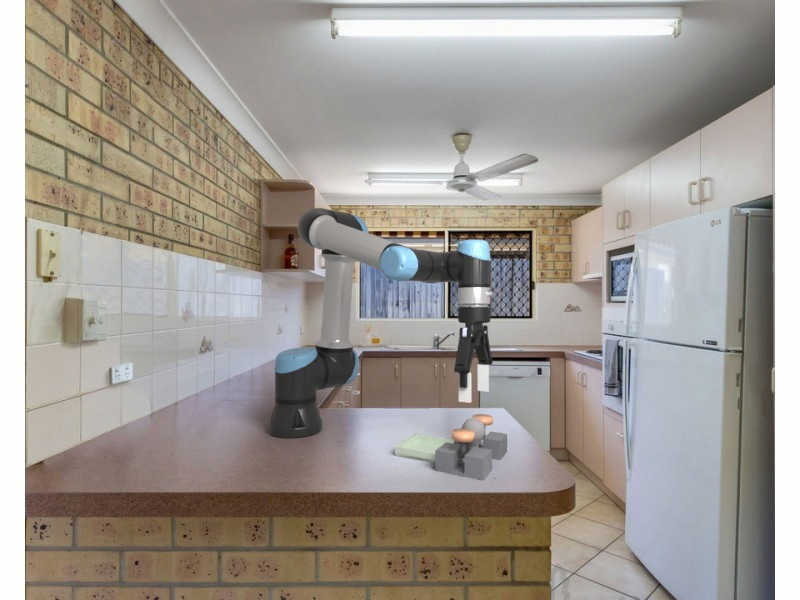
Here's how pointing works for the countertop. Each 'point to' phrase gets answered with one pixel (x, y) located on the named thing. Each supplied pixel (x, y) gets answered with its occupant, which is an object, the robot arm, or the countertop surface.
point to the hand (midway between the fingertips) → (474, 396)
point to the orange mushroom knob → (484, 419)
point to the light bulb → (477, 428)
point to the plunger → (463, 439)
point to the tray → (420, 447)
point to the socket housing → (471, 457)
